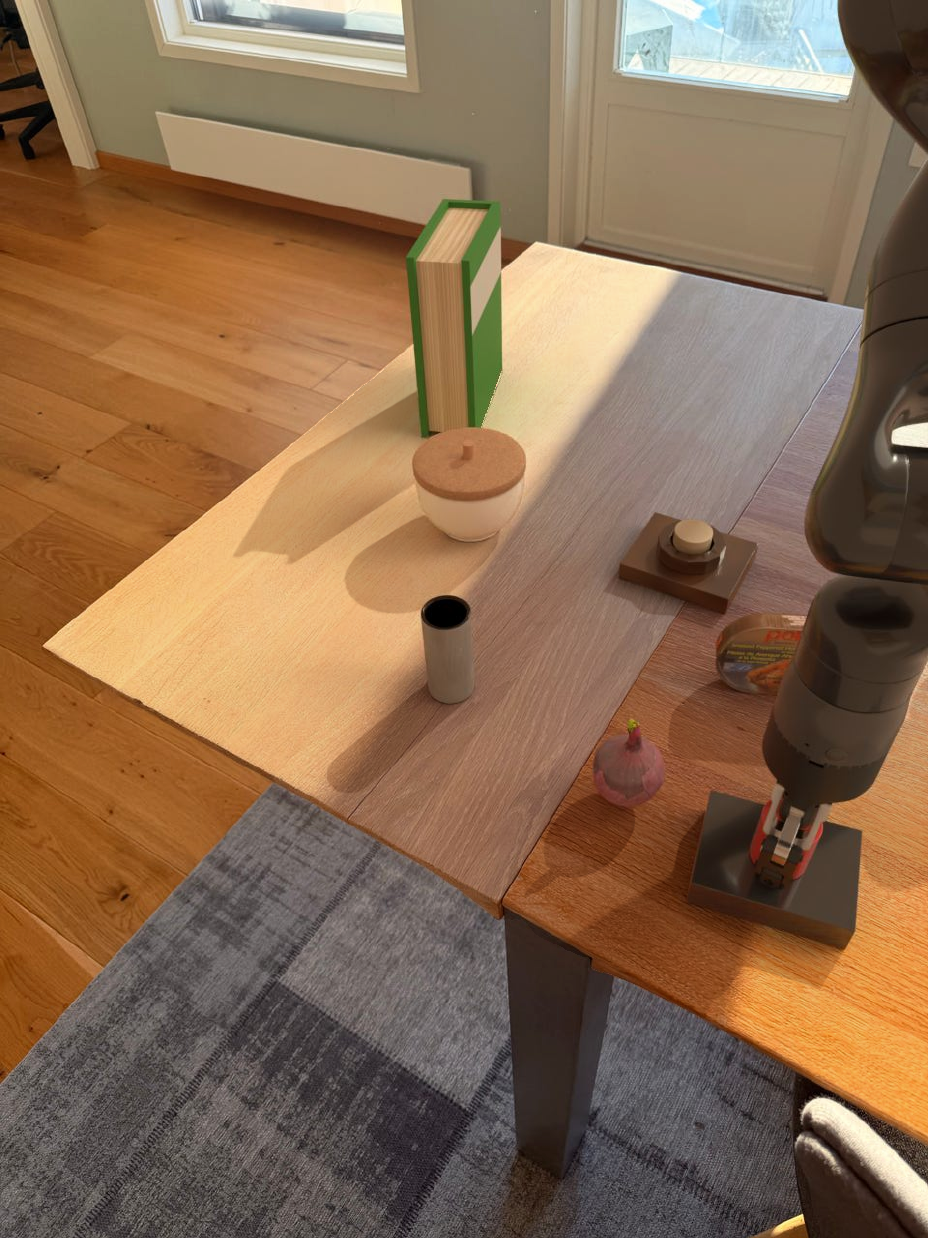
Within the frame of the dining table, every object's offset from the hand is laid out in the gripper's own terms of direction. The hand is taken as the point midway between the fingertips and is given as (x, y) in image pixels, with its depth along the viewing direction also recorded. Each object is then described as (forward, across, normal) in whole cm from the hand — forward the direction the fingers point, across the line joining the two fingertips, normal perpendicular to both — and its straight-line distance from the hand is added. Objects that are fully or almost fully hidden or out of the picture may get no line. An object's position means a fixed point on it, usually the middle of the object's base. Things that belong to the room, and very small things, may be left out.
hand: (779, 854), depth 71 cm
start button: (0, -32, -19) cm, 37 cm away
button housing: (+3, -32, -19) cm, 37 cm away
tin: (+4, -21, -4) cm, 21 cm away
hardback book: (+4, -50, -58) cm, 77 cm away
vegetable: (+4, -2, -13) cm, 14 cm away
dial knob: (0, 0, 0) cm, 0 cm away
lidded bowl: (+4, -28, -44) cm, 52 cm away
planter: (+4, -5, -33) cm, 34 cm away
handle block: (+3, 0, 0) cm, 3 cm away
